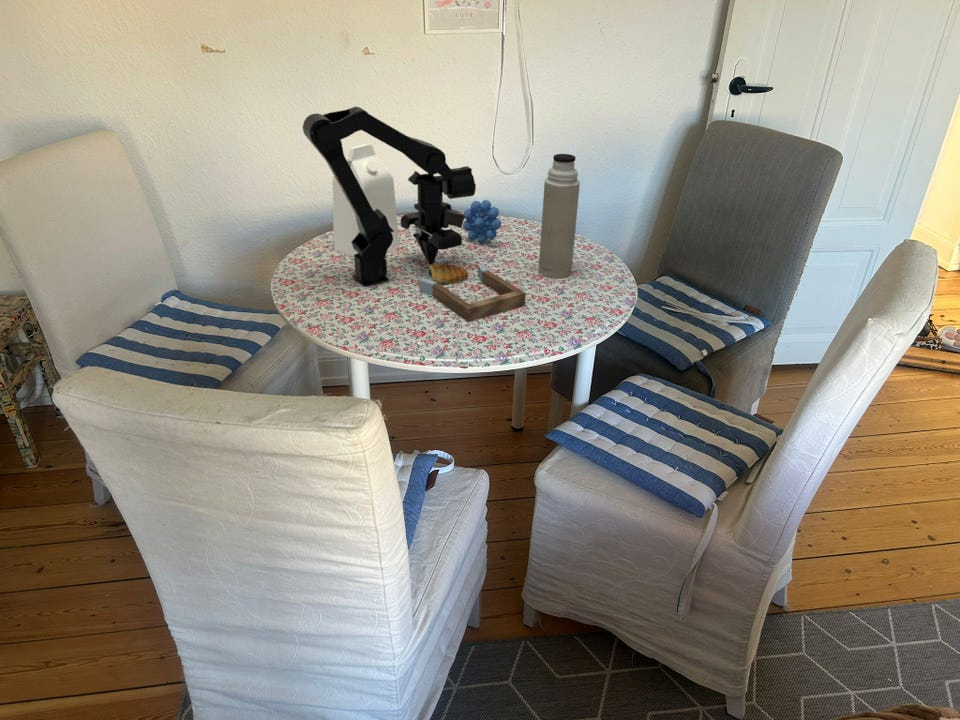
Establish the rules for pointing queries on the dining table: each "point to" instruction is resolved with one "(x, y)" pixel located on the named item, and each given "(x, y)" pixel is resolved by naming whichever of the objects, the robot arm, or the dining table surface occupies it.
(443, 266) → the pastry
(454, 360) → the dining table surface
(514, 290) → the holder
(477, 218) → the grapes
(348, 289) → the dining table surface
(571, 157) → the thermos bottle
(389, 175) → the milk
